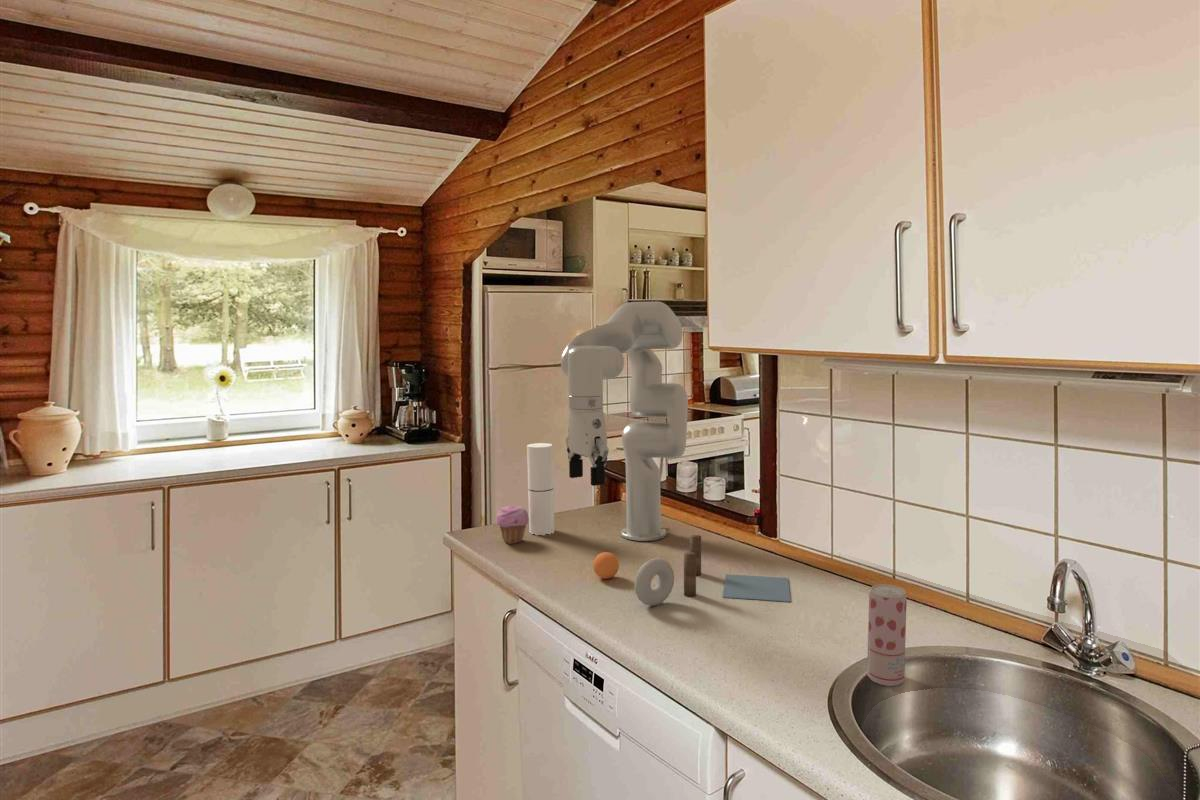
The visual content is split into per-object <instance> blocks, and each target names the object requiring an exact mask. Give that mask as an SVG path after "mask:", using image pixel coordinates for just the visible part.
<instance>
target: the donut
mask: <svg viewBox="0 0 1200 800" xmlns="http://www.w3.org/2000/svg"><path fill="white" fill-rule="evenodd" d="M656 575H657V577H658V580H657V583H656V585H655V586H654V587H653V588H652V587H651V585H652V580H653V578H654V577H656ZM674 583H675V572H674V569H673V567H672V565H671V564H670V562H668V561H667V560H666V559H664V558H660V557H654V558H651V559H648V560H645V562H644V563H642V564H641V566H640V567H639V569H638V571H637V572H636V575H635V579H634V586H633V587H634V593H635V595H636V597H637V599H638V600H639V601H640V602H641V603H642V604H643V605H646V606H649V607H652V606H658V605H660V604H662V603H664V602H665V600H666V599H667V598H668V597H669V595H671V593H672V590H673V588H674Z"/></svg>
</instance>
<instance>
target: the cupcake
mask: <svg viewBox="0 0 1200 800" xmlns="http://www.w3.org/2000/svg"><path fill="white" fill-rule="evenodd" d="M495 519H496V521H495V522H496V523H497V525H498V526H499V528H500V531H501V536H502V540H503V541H504V542H505V543H507V544H508V545H513V544H517V543H520V542H522V540H523V538H524V536H525V532H526V526H527V525H528V524H529V512H528V511H527V510H526V508H525V507H524V506H521V505H505V506H503V507H501V508H500V509H499V511H498V513H497V514H496V516H495Z"/></svg>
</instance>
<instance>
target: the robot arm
mask: <svg viewBox="0 0 1200 800" xmlns="http://www.w3.org/2000/svg"><path fill="white" fill-rule="evenodd" d="M683 331H684V330H683V326H682V324H681V321H680V319H679V318H678V316H677V315H676V313H674V311H673V310H672V309H671V308H670V306H668V305H667V304H666V303H665V302H662V301H631V302H625V303H623V304H621V305H620V306H619V307H617V309H616V310H615V311H614V313H613V314H612V315H611V316H610V317H609V319H607V321H606V323H604V324H600V325H598V326H596V327H592V328H590V329H588V330H586V331H583V332H580V333H579V334H578V335H575V336H574V337H573V338H572V339H571V340H570V342H569V343H568V344H567V345H566V347H565V348H564V350H563V351H562V354H561V358H560V366H561V370H562V372H563V374H564V375H565V376H567V378H568V380H567V381H568V383H567V385H568V411H569V414H568V415H569V417H568V429H567V430H568V436H567V437H566V438H565V444H566V451H567V455H568V456H567V459H568V469H569V470H568V472H569V474H568V475H569V478H571V479H574V478H575V479H576V478H582V477H583V476H584V468H583V467H584V465H583V464H584V463H583V458H582V457H584V458H588V459H589V461H590V464H591V466H590V485H591V486H593V487H595V486H602V485H604V484H605V482H606V481H605V480H606V478H605V477H606V475H605V474H606V473H605V470H606V469H605V467H606V466H607V460H608V454H609V451H610V449H609V447H608V437H607V435H608V434H607V425H606V417H605V413H604V409H603V408H604V389H603V388H604V387H603V385H604V383H603V380H610V379H614V378H617V377H618V376H620V374H622V371H623V370H624V366H625V358H624V354H623V353H625V352H626V354H627V356H628V359H629V362H630V367H631V377H630V392H629V393H630V394H629V408H630V412H631V413H632V415H634V416H637V417H641V418H656V419H658V418H659V419H667V420H668V422H655V421H654V422H652V421H651V422H650V421H649V422H648V421H637V422H636V421H635V422H632V423H628V424H627V425H626V426H624V428H623V430H622V433H621V442H622V447H623V454H624V461H625V497H626V498H625V501H626V502H625V503H626V504H625V509H626V510H625V511H626V512H625V513H626V516H625V519H626V526H625V527H623V528H622V529H620V535H621V537H623V538H624V539H627V540H631V541H638V542H651V541H657V540H661V539H663V538H666V536H667V529H666V528H664V527H662V526H661V524H662V521H661V518H662V516H661V513H662V512H661V471H660V469H659V466H658V464H657V463H656V462H655V460H654V458H656V459H657V458H658V459H660V458H661V459H679V458H681V457H682V456H683V455H684V453H685V452H686V448H687V432H688V411H689V410H688V408H689V407H688V406H689V401H688V394H687V391H686V388H685V387H684V386H683V385H681V384H680V383H671V382H669V383H668V382H667V383H664V382H662V380H663V364H662V363H661V361H660V359H659V357H658V356H657V355H656V353H655V352H654V350H674V349H676V348H678V347H679V346H680V345H681V343H682V340H683V337H684V336H683V335H684V334H683V333H684V332H683Z"/></svg>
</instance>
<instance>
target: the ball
mask: <svg viewBox="0 0 1200 800" xmlns="http://www.w3.org/2000/svg"><path fill="white" fill-rule="evenodd" d="M592 569H593V571H594V573H595V574H596V576H597V577H599V578H600V579H603V580H608V579H611V578H614V576H616V575H617V574H618V572H619V569H620V563H619V559H618V558H617V557H616V555H614V554H613V553H612V552H607V551H606V552H605V551H604V552H601V553H599V554H597V555H596V557H595V558H594V561H593V563H592Z"/></svg>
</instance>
